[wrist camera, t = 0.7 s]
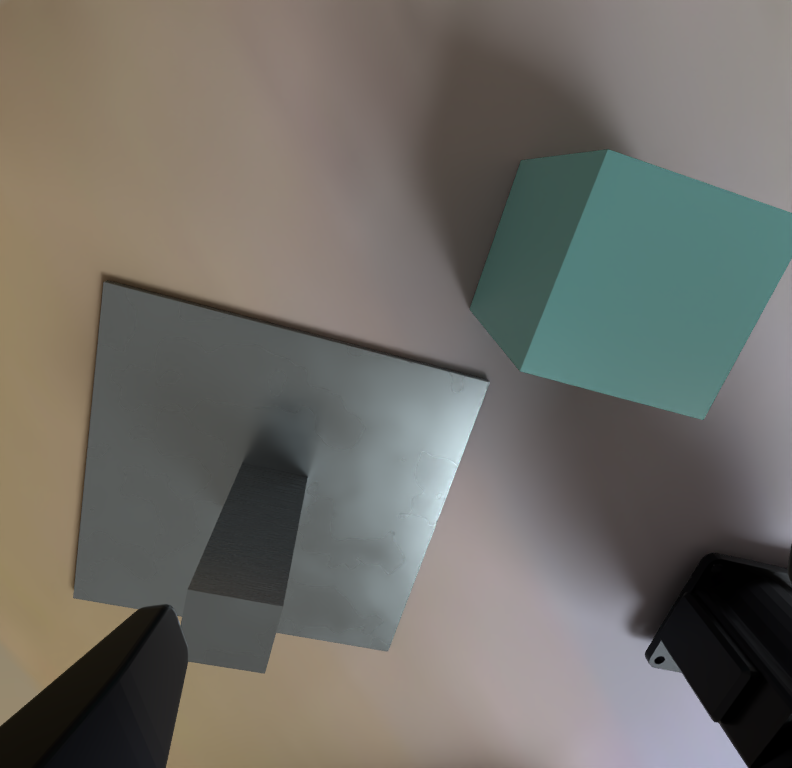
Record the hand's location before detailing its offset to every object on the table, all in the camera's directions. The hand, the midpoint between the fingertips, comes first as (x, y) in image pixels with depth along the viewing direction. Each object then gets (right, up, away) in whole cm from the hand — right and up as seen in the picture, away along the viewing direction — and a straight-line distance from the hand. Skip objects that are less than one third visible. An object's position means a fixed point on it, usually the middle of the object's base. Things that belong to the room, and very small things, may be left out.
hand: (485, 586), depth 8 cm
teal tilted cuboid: (+5, +7, +11) cm, 14 cm away
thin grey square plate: (-6, -2, +14) cm, 15 cm away
